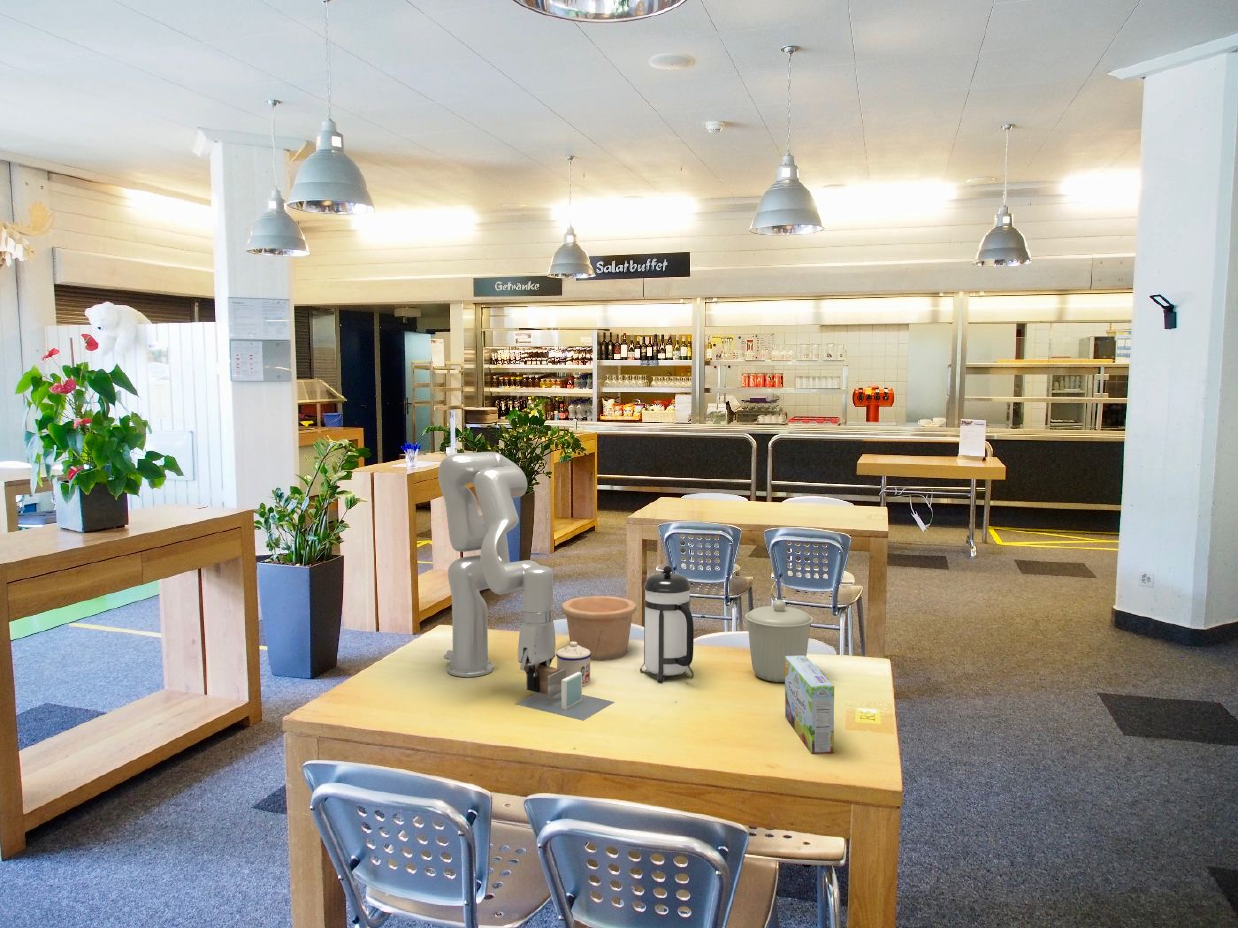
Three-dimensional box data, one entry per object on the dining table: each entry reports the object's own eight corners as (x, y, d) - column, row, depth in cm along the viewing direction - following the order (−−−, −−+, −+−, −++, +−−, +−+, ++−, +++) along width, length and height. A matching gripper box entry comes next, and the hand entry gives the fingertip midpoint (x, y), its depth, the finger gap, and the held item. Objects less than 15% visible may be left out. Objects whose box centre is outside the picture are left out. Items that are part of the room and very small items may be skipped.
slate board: (514, 707, 209) (514, 703, 209) (548, 690, 221) (548, 687, 221) (583, 724, 199) (583, 720, 198) (615, 705, 211) (615, 701, 210)
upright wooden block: (521, 692, 212) (521, 668, 212) (538, 684, 218) (538, 660, 217) (549, 698, 208) (549, 674, 207) (566, 690, 214) (566, 666, 213)
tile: (561, 708, 206) (561, 679, 205) (577, 699, 212) (577, 671, 211) (565, 709, 205) (565, 680, 205) (582, 700, 211) (582, 672, 211)
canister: (783, 692, 220) (785, 612, 218) (730, 675, 234) (731, 599, 232) (825, 677, 232) (827, 600, 230) (772, 661, 246) (773, 589, 244)
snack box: (782, 717, 204) (783, 654, 203) (805, 716, 204) (806, 654, 203) (809, 754, 183) (811, 685, 182) (835, 753, 183) (837, 684, 182)
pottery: (649, 648, 258) (649, 601, 257) (609, 668, 239) (609, 617, 238) (589, 637, 269) (589, 592, 268) (547, 655, 251) (547, 607, 250)
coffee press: (629, 680, 229) (630, 569, 226) (650, 663, 244) (650, 558, 241) (692, 689, 222) (693, 575, 220) (709, 670, 237) (710, 563, 235)
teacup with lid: (582, 693, 219) (582, 649, 218) (550, 689, 222) (550, 645, 221) (600, 679, 230) (600, 636, 229) (569, 675, 233) (569, 633, 232)
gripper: (545, 607, 221) (545, 676, 223) (505, 621, 207) (505, 695, 209) (569, 611, 217) (569, 682, 219) (529, 626, 203) (530, 701, 205)
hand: (538, 688), depth 214 cm, fingers closed on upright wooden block, 3 cm apart
